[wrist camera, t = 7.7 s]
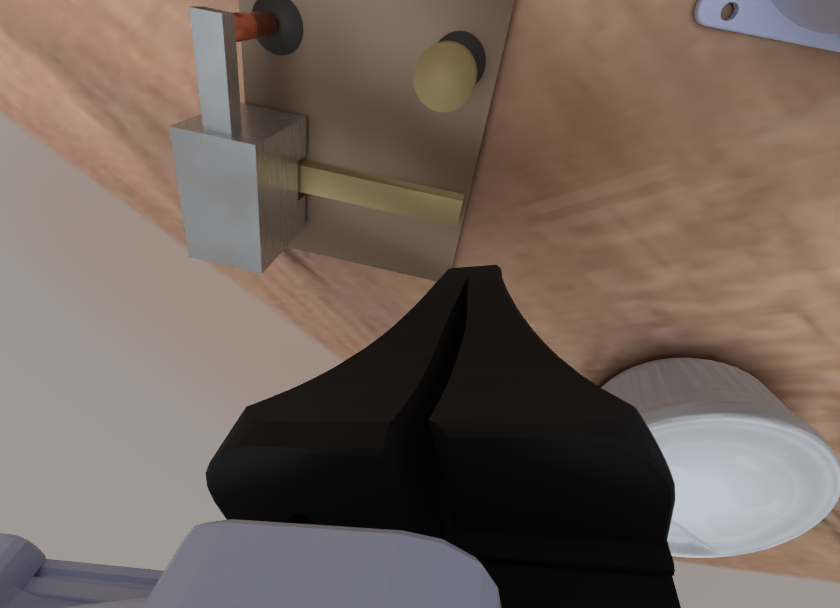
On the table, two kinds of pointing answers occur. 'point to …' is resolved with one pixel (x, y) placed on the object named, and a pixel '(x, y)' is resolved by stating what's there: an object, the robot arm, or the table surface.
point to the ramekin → (730, 456)
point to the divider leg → (236, 154)
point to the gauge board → (382, 118)
